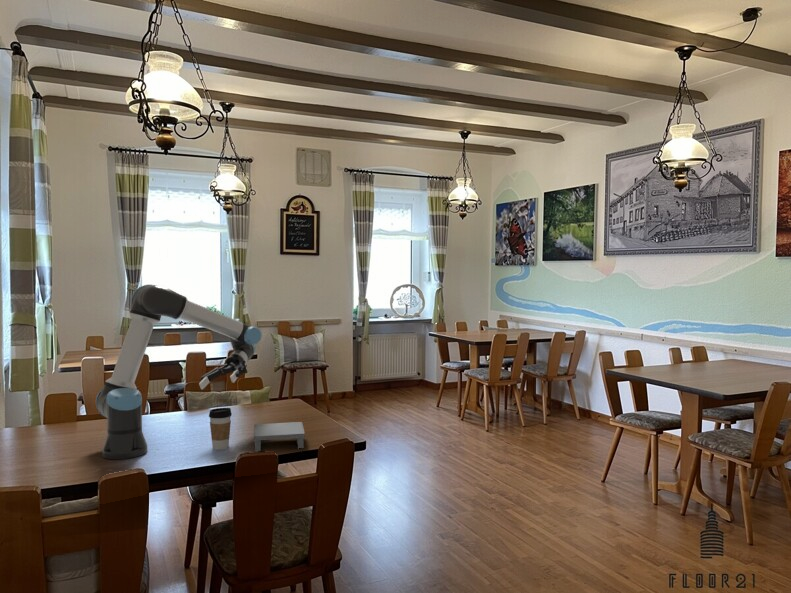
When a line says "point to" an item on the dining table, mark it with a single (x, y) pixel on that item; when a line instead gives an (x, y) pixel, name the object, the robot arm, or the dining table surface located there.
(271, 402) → the dining table surface
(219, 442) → the coffee cup
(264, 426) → the bridge shelf
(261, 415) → the dining table surface
